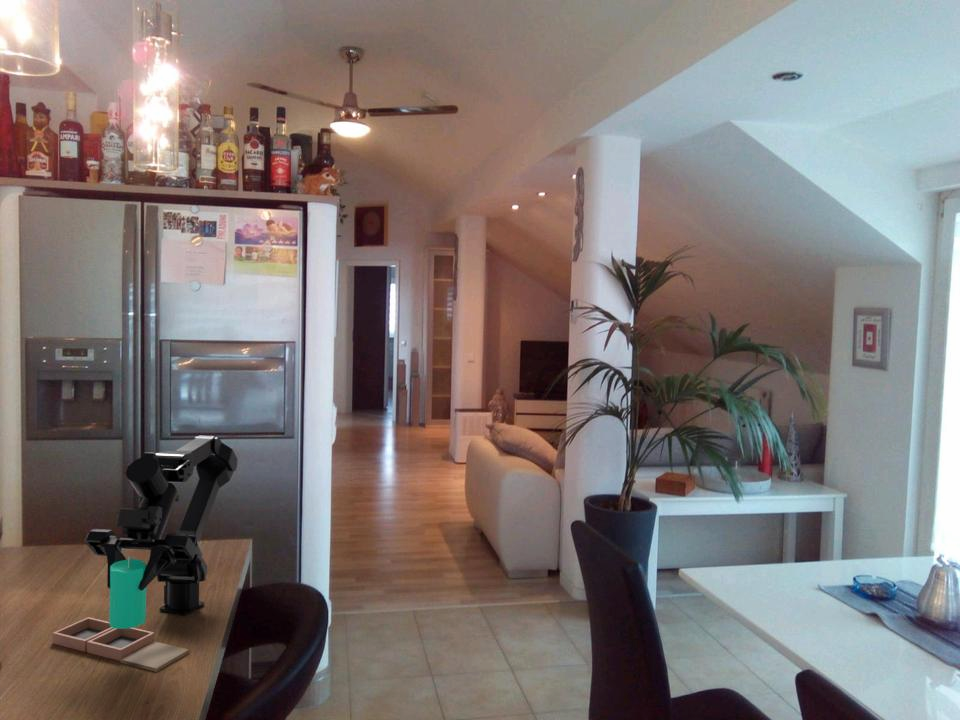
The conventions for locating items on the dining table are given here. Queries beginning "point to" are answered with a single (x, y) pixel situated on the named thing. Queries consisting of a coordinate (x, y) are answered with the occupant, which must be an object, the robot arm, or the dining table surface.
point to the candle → (127, 594)
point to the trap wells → (102, 638)
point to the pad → (154, 656)
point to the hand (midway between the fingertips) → (124, 588)
